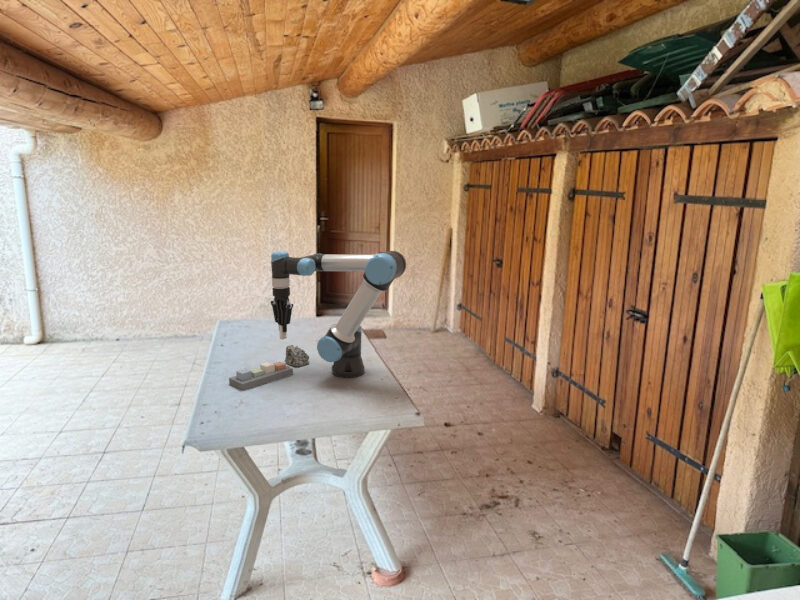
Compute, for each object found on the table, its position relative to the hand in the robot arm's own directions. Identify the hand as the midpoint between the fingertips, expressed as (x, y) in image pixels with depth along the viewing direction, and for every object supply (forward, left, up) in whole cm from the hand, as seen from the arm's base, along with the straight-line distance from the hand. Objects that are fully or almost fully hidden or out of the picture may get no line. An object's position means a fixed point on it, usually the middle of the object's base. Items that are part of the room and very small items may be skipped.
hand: (283, 338), depth 230 cm
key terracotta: (0, +3, -15) cm, 15 cm away
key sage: (0, +15, -15) cm, 21 cm away
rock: (+6, -12, -17) cm, 21 cm away
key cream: (0, +9, -14) cm, 16 cm away
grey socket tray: (0, +12, -16) cm, 20 cm away
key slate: (0, +21, -14) cm, 25 cm away
